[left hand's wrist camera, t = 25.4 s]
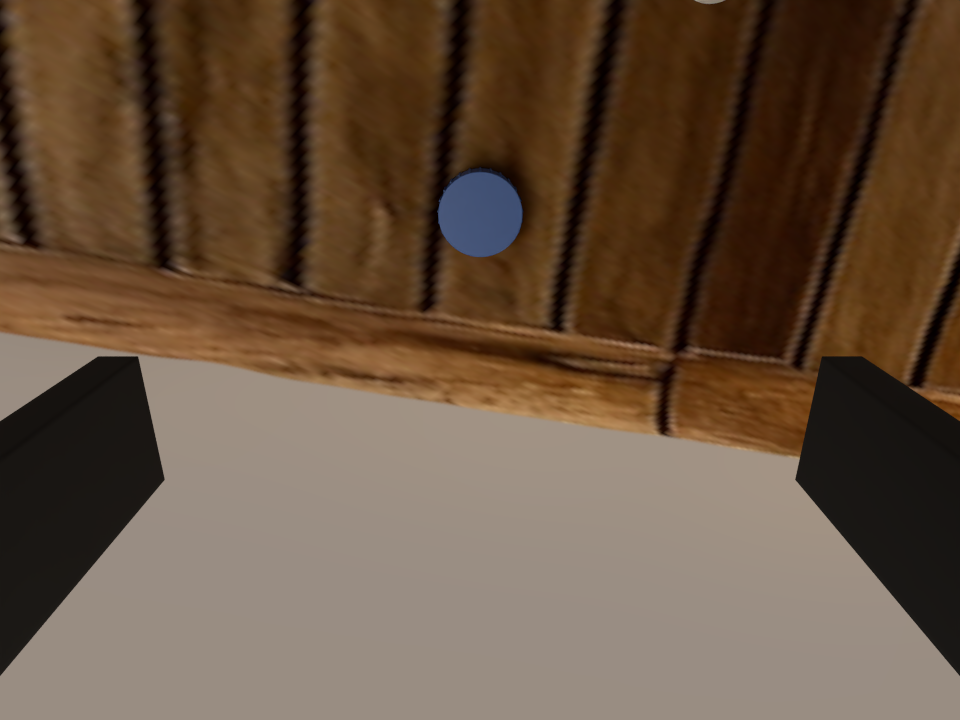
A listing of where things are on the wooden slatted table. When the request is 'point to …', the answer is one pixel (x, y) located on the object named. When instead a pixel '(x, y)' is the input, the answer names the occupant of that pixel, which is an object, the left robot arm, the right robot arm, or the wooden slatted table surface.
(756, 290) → the wooden slatted table surface
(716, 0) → the white bottle
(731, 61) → the wooden slatted table surface
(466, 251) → the lid
